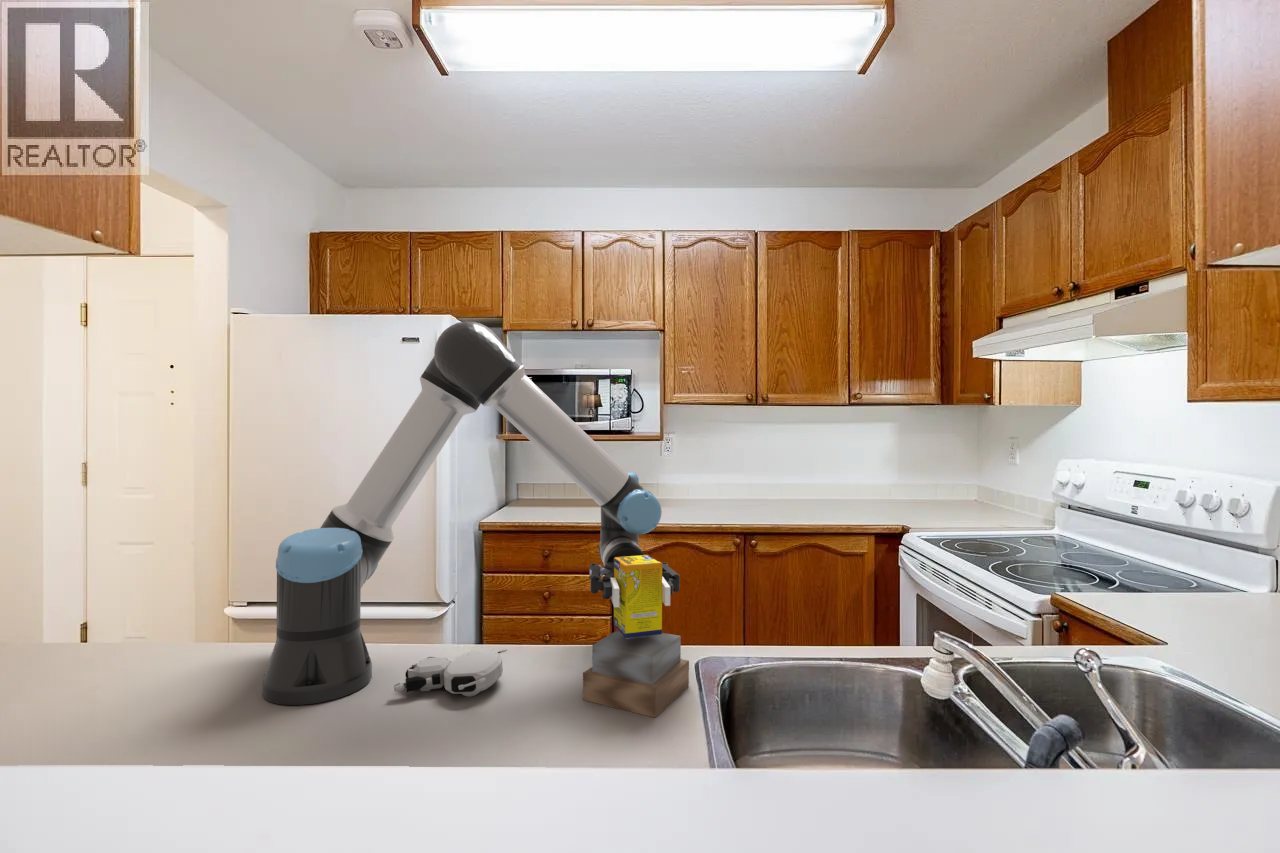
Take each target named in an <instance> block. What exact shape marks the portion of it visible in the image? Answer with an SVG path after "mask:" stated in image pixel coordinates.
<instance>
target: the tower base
mask: <svg viewBox="0 0 1280 853" xmlns="http://www.w3.org/2000/svg"><path fill="white" fill-rule="evenodd" d="M681 639H682V638H681V635H676V634H671V633H666V632H665V633H664V632H662V634H660V635H653V636H645V637H636V638H629V639H626V638H625V637H624V636H623V634H622V633H621V632H620V631H619V630H618V629H617V630H616V631H613V632H612V633H610V634H608V635H607V636H605V637H603V638H602V639H600V640H598V641H595V643H593V644H592V650H591V652H592V654H591V656H592V657H591V662H592V663H591V664H592V666H591V667H589V668H587V669H586V670H585V671H583V672H582V700H583V701H587V702H590V703H595V704H599V705H602V706H608V707H611V708H615V709H619V710H623V711H627V712H631V713H635V714H638V715H644V716H647V717H651V718H652V717H653V718H657V717H658V716H659V715H660V714H661V713H662V712H663V711H664V710H665V709H667V707H668V706H669V705H671V703H673V702H674V701H675V700H676V699H677V698H678V697H679V696H680V695H681V694H682V693H684V691H685V690H686V689H687V688H688V687H689V686H690V685H689V684H690V683H689V682H690V681H689V679H690V677H689V676H690V661H689V660H687V659H683V658H681V657H682V655H681V650H682V649H681V645H682V644H681V642H682V640H681Z"/></svg>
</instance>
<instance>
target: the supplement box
mask: <svg viewBox="0 0 1280 853" xmlns="http://www.w3.org/2000/svg"><path fill="white" fill-rule="evenodd" d="M662 563H663V562H661V561H658V560H657V559H655V558H653V557H651V556H650V555H649V554H645V555H640V556H626V557H615V558H614V578H616V581H617V583H618V586H619V607H614V606H613V627H615V629H617V630H619V631H620V632H621V633H622V634H623V636H624V637H625V638H626V639H629V638H636V637H645V636H653V635H660V634H662V633H663V601H662Z"/></svg>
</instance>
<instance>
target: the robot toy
mask: <svg viewBox="0 0 1280 853" xmlns="http://www.w3.org/2000/svg"><path fill="white" fill-rule="evenodd" d="M507 651H508V649H507V648H504V649H501V650H499V651H495V650H494V649H493V650H479V651H477V650H476V651H474V650H473V651H469V652H466V653H463V654H461V655H459V656H457V657H456V658H455V659H453V660H450V659H449V658H448V657H434V656H429V657H427V658H423V659H422V660H420V661H418V662H416V663H414V664H411V667H409V668H407V669H406V671H405V675H404V676H405V682H401V681H400V682H397V683H394V685H393V691H394V692H401V691H403V690H406V691H405V692H406V693H410V692H416V691H419V690H420V692H429V691H431V690H435V689H442V688H443V687H444V688H445V690H446V691H447V692H449V693H450V694H453V695H454V694H456V695H458V694H461V695H462V696H464V697H467V698H468V697H474V696H476V695H477V694H478V695H479V693H480V692H482V691H484V690H488V688H491V686H493V685H494V684H495V683H496V682H497V681H498V680H499V679H500V678H501V677H502V674H503V670H504V669H503V668H504V667H503V656H502V655H501V654H502V653H506V652H507Z"/></svg>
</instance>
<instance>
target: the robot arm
mask: <svg viewBox="0 0 1280 853" xmlns="http://www.w3.org/2000/svg"><path fill="white" fill-rule="evenodd" d="M525 366H526V365H525V364H524V363H522V362H521V361H520V360H519V359H518V358H517V356H516V355H514V354H513V352H512V351H511V350H510V349H509V348H508V347H507V346H506V345H505V344H504V342H503V341H502V339H501V338H500V337H499V336H498V335H497V334H496V333H495V331H493V330H492V329H491V328H490V327H488V326H487V325H484V324H483V323H479V322H476V321H467V320H466V321H461V322H460V321H459V322H456V323H454V324H452V325H449V327H447V328H445V329H444V330H443V331H442V333H441V334H440V336H438V338H437V340H436V343H435V345H434V354H433V357H432V358H431V360H430V362H429V363H428V365H427V366H426V368H425V369H424V370H423V372H422V374H421V375H420V376H419V381H420V385H421V387H420V388H421V391H420V393H419V394H418V395H417V397H416V399H414V402H413V403H412V405H411V406H410V408H409V409H408V411H407V412H406V414H405V416H404V417H403V418H402V420H401V421H400V423H399V424H398V426H397V427H396V429H395V430H394V432H393V433H392V435H391V436H390V438H389V440H388V441H387V443H386V444H385V446H384V447H383V449H382V450H381V452H380V453H379V455H378V456H377V457H376V460H374V462H373V463H372V465H371V466H370V467H369V470H368V471H367V473H366V474H365V476H364V478H363V479H362V480H361V481H360V483H359V485H358V487H357V488H356V489H355V491H354V492H353V494H351V495H352V496H351V497H350V498H349V500H348V501H347V503H345V504H340V505H337V506H334V507H333V508H332V509H331V511H330V512H329V514H328V515H327V517H326V519H325V520H324V522H323V523H322V525H320V527H319V528H312V529H307V530H304V531H302V532H295V533H293V534H290V535H289V536H287V537H285V538H284V539H283V540H282V541H281V542H280V543H279V545H278V549H277V557H276V559H275V568H276V569H275V570H276V634H275V635H276V636H275V637H276V640H275V643H274V646H273V649H272V652H271V654H270V657H269V660H268V664H267V666H266V670H265V673H264V674H263V677H262V682H261V683H262V684H261V685H262V687H261V688H262V690H261V693H262V695H261V696H262V697H263V698H264V700H265V701H267V702H269V703H273V704H278V705H286V706H292V705H293V706H301V705H312V704H317V703H318V704H319V703H323V702H328V701H332V700H337V699H340V698H343V697H345V696H348V695H351V694H353V693H355V692H357V691H359V690H361V689H363V688H365V687H366V685H367V684H369V683H370V681H371V680H372V677H373V676H372V674H373V663H372V662H373V661H372V660H371V657H370V653H369V651H368V648H367V645H366V642H365V638H364V637H363V633H362V631H361V600H362V598H361V594H362V593H361V592H362V590H361V589H362V588H363V585H365V583H366V582H367V581H368V580H369V579H370V578H371V577H372V576H373V574H374V573H375V572H376V569H377V568H378V566H379V562H381V559H382V557H384V555H385V553H386V552H387V550H388V548H389V547H390V545H392V542H393V541H394V537H395V536H394V534H393V529H392V526H393V525H394V523H395V521H396V520H397V518H398V517H399V516H400V514H401V513H402V510H403V509H404V508H405V506H406V505H407V503H408V502H409V500H410V498H411V497H412V495H413V494H414V493H415V491H416V489H417V488H418V486H419V485H420V483H421V481H422V480H423V478H424V477H425V476H426V474H427V472H428V471H429V469H430V467H431V466H432V465H433V463H434V462H435V460H436V458H438V456H439V454H440V452H441V451H442V449H443V447H444V446H445V444H446V443H447V441H448V440H449V438H450V436H451V435H452V433H453V432H454V431H455V429H456V427H457V426H458V424H459V423H460V421H461V420H462V418H463V417H464V416H465V415H468V414H472V413H476V412H477V410H478V409H479V407H480V406H481V404H482V406H483V407H492V408H494V409H495V410H496V411H497V412H498V413H499V414H501V415H502V416H503V417H504V418H505V419H506V420H507V421H508V422H509V423H510V424H512V425H513V427H515V428H516V429H517V430H518V432H520V433H522V435H523V436H524V437H525V438H526V439H527V440H529V441H530V442H531V443H532V444H533V445H534V446H535V447H536V448H537V449H538V450H540V451H541V452H542V454H544V455H545V456H546V457H547V458H548V459H549V460H550V461H551V462H552V463H553V464H555V466H556V467H558V469H560V470H561V471H562V473H564V474H565V475H566V476H567V477H569V479H570V480H571V481H573V482H574V483H575V484H576V485H577V486H578V487H579V488H580V489H581V490H582V491H583V492H585V493H586V495H588V496H589V497H590V498H591V499H592V500H593V501H595V503H596V504H597V505H599V507H600V533H599V534H600V535H599V536H600V539H599V540H600V542H599V544H598V548H599V549H598V555H599V557H600V561H602V564H603V566H604V567H602V565H601V564H597V563H590V564H589V580H590V593H591V594H598V593H599V591H601V592H602V596H601V598H602V599H603V600H609V599H610V600H611V602H612V605H613V608H614V607H619V586H618V583H617V581H616V578H614V558H615V557H626V556H640V555H646V554H645V553H644V552H643V550H642V548H641V547H640V546H639V543H640V542H639V540H640V539H639V535H645V534H647V533H650V532H651V531H653V530H655V528H657V526H658V524H659V523H660V521H661V518H662V508H661V503H660V501H659V500H658V498H657V497H656V496H655V495H654V494H653V493H651V491H649V490H647V489H645V488H643V486H641V485H640V481H639V480H640V479H639V475H638V474H637V473H635V472H628V471H626V470H625V469H624V468H623V467H622V465H620V464H618V462H617V461H616V460H614V458H613V457H611V456H610V455H609V454H608V453H607V452H606V451H605V450H604V449H603V448H602V447H601V446H600V445H599V444H598V443H597V442H595V440H594V439H593V438H592V437H591V436H589V434H587V433H586V432H585V431H584V429H582V428H581V427H580V426H579V424H577V423H576V422H575V421H574V420H573V419H572V418H571V417H570V416H569V415H568V414H567V413H566V412H564V411H563V410H562V408H561V407H559V405H558V404H556V403H555V402H554V401H553V400H552V399H551V398H550V397H549V396H548V395H547V394H546V393H545V392H544V391H543V390H542V389H541V388H540V387H539V386H537V384H535V383H534V382H533V381H532V380H531V379H530V378H529V377H528V375H526V372H525V371H526V370H525V369H526V368H525ZM661 563H662V604H664V607H670V606H671V596H673V595H674V592H676V593H677V592H679V591H680V590H681V589H680V587H681V586H680V584H681V582H680V581H681V578H680V577H681V575H680V574H679V573H677V571H676V570H674V569H672V568H671V567H670V566H669V563H668V562H665V561H664V562H661ZM602 576H603V577H602Z"/></svg>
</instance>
